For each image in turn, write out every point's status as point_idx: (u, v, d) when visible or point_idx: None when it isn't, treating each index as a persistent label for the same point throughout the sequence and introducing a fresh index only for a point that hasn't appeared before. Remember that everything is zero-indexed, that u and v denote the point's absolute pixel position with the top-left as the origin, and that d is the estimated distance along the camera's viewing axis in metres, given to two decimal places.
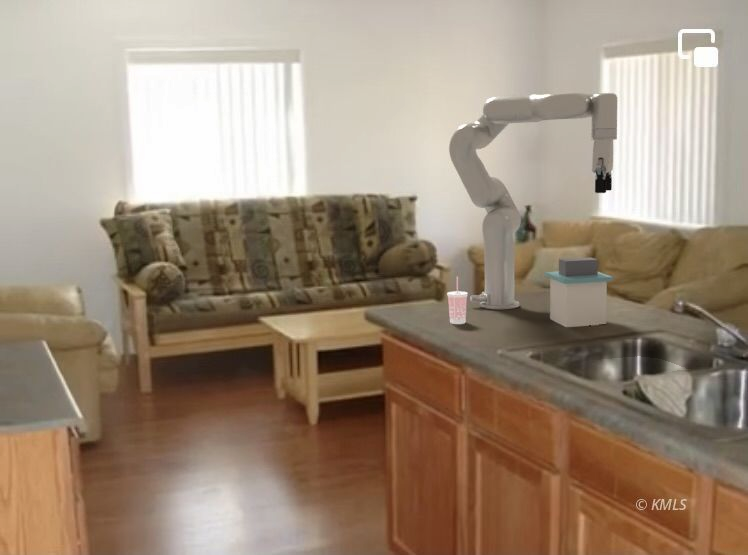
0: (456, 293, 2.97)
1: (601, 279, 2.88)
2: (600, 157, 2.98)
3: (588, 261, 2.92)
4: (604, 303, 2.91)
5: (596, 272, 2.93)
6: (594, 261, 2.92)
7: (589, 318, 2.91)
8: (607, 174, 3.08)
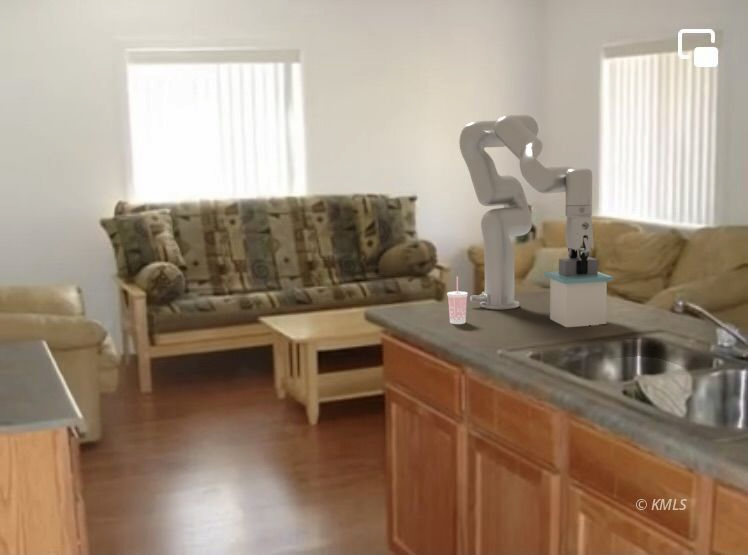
0: (456, 293, 2.97)
1: (601, 279, 2.88)
2: None
3: (588, 261, 2.92)
4: (604, 303, 2.91)
5: (596, 272, 2.93)
6: (594, 261, 2.92)
7: (589, 318, 2.91)
8: None
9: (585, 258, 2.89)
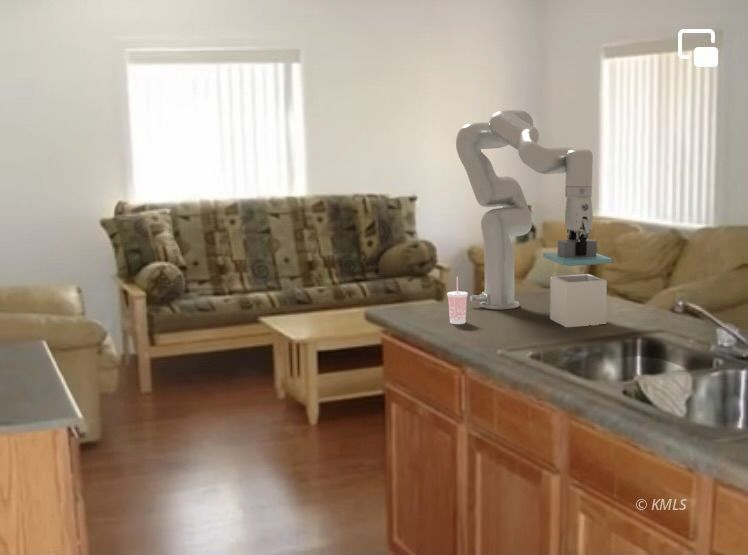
0: (456, 293, 2.97)
1: (600, 261, 2.88)
2: None
3: (587, 243, 2.91)
4: (604, 303, 2.91)
5: (595, 254, 2.92)
6: (593, 243, 2.92)
7: (589, 318, 2.91)
8: None
9: (584, 239, 2.89)
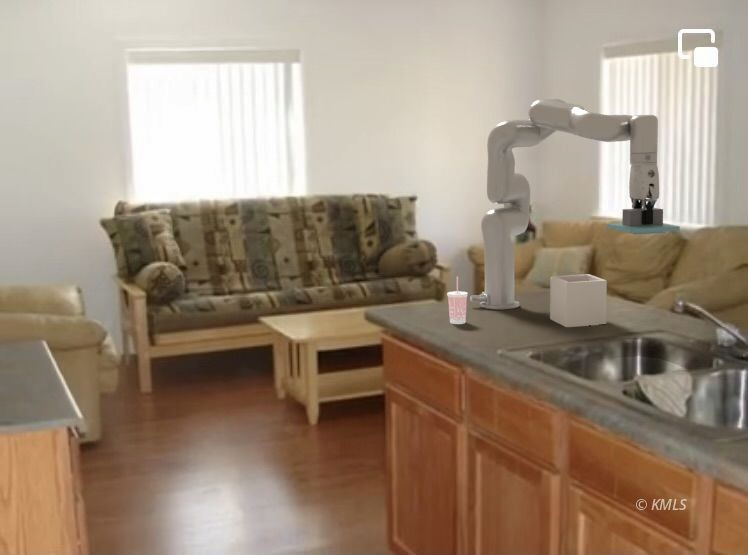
0: (456, 293, 2.97)
1: (668, 228, 2.79)
2: None
3: (653, 211, 2.83)
4: (604, 303, 2.91)
5: (661, 222, 2.84)
6: (659, 211, 2.84)
7: (589, 318, 2.91)
8: None
9: (651, 207, 2.81)
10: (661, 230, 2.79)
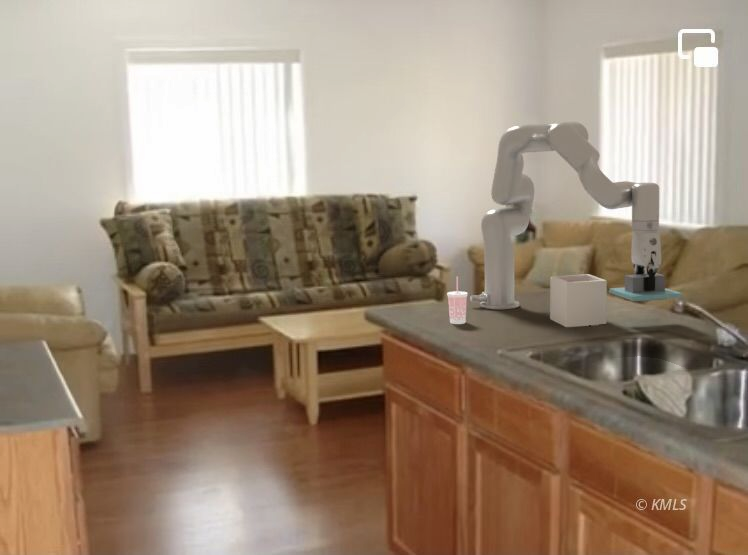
0: (456, 293, 2.97)
1: (670, 295, 2.82)
2: None
3: (655, 277, 2.86)
4: (604, 303, 2.91)
5: (663, 288, 2.87)
6: (661, 277, 2.86)
7: (589, 318, 2.91)
8: None
9: (653, 274, 2.83)
10: (663, 297, 2.82)
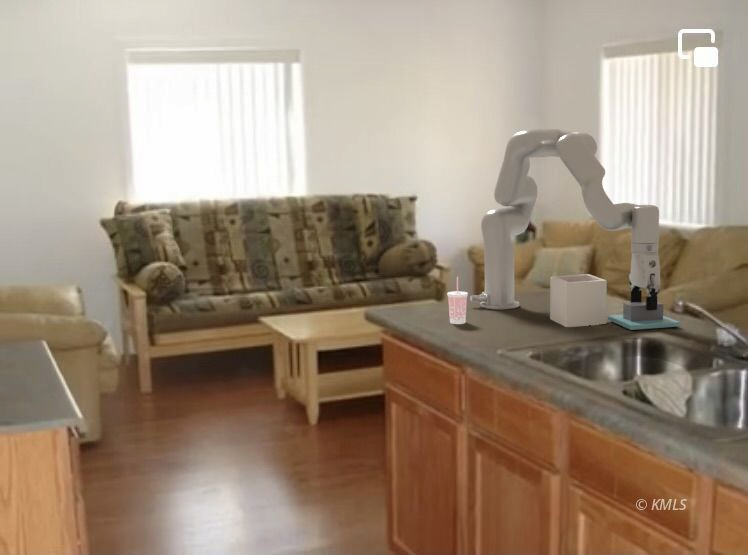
0: (456, 293, 2.97)
1: (668, 324, 2.84)
2: None
3: None
4: (604, 303, 2.91)
5: (662, 317, 2.88)
6: (660, 305, 2.88)
7: (589, 318, 2.91)
8: None
9: (655, 294, 2.82)
10: (661, 326, 2.83)
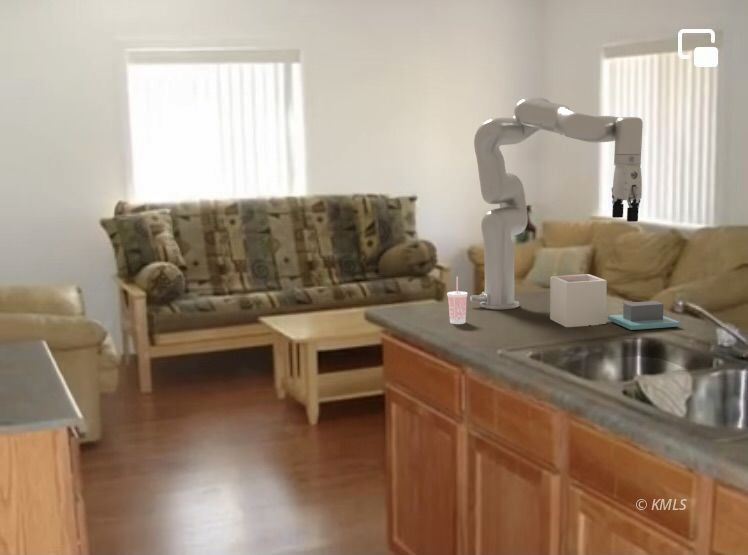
0: (456, 293, 2.97)
1: (668, 324, 2.84)
2: None
3: (654, 306, 2.87)
4: (604, 303, 2.91)
5: (662, 317, 2.88)
6: (660, 306, 2.88)
7: (589, 318, 2.91)
8: None
9: (636, 205, 2.84)
10: (661, 326, 2.83)
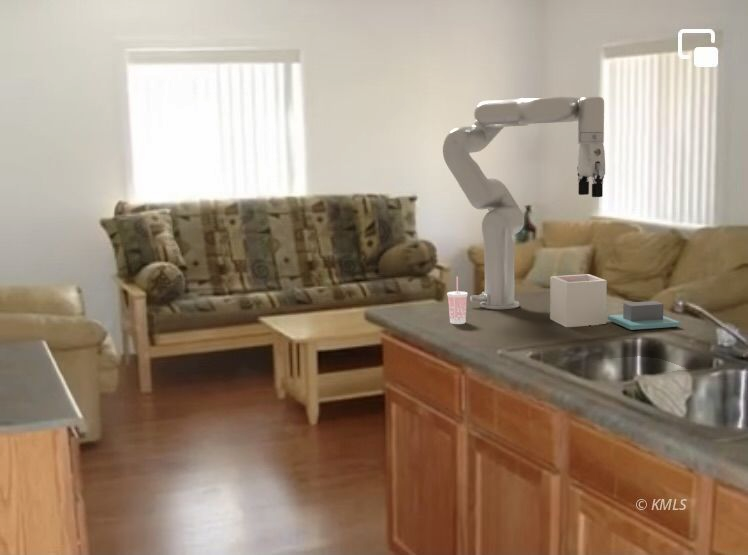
0: (456, 293, 2.97)
1: (668, 324, 2.84)
2: None
3: (654, 306, 2.87)
4: (604, 303, 2.91)
5: (662, 317, 2.88)
6: (660, 306, 2.88)
7: (589, 318, 2.91)
8: None
9: (600, 181, 2.95)
10: (661, 326, 2.83)
